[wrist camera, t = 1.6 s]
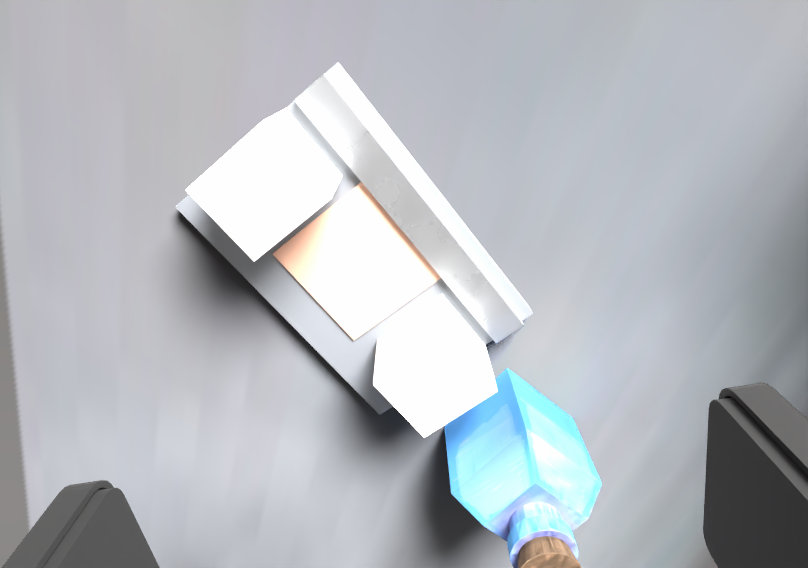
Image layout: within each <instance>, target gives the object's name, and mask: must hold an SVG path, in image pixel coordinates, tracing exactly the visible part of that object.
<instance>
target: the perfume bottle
mask: <svg viewBox="0 0 808 568" xmlns="http://www.w3.org/2000/svg"><path fill="white" fill-rule="evenodd" d="M495 383H496V386H497V390H498V392H496V393H494V394H493V395H491V396H490V397H488V398H487V399H485V400H483V401H482V402H480V403H479V404H477V405H476V406H474V407H472V408H471V409H469V410H468V411H466V412H464V413H463V414H461V415H460V416H458V417H457V418H455V419H453V420H452V421H450V422H449V423H448V424H447V425H446V426H445V436H446V446H447V456H448V466H449V476H450V486H451V494H452V495H453V496H454V497H455V498H456V499H457V500H458V501H459V502H460V503H461V504H462V505H463V506H464V507H465V508H466V509H467V510H468V511H469V512H470V513H471V514H472V515H473V516H474V517H475V518H476V519H477V520H478V521H479V522H480V523H481V524H482V525H483V526H484V527H486V528H487V529H489V530H491V531H492V532H494V533H495V534H497V535H498V536H500V537H501V538H503V539H504V540H506V541H507V546H508V551H509V556H510V561H511V563H512V565H513V567H514V568H581V566H580V564H579V562H578V561H577V558H578V547H577V544H576V541H575V538H574V535H573V533H572V531H573V530H574V529H576V528H577V527H578V526H580V525H581V524H582V523H584V522H585V521H586V520H587V519H588V518H589V515H590V513H591V510H592V508H593V505H594V503H595V500H596V498H597V495H598V493H599V490H600V488H601V485H602V482H601V480H600V478H599V476H598V473H597V471H596V469H595V467H594V464H593V462H592V460H591V458H590V455H589V453H588V451H587V449H586V446H585V444H584V442H583V440H582V438H581V435H580V433H579V431H578V429H577V426H576V424H575V422H574V420H573V418H572V417H571V416H570V415H568V414H567V413H566V412H564V411H563V410H562V409H561V408H559V407H558V406H557V405H555V404H554V403H553V402H551V401H550V400H549V399H547V398H546V397H545V396H544V395H542V394H541V393H540V392H538V391H537V390H536V389H534V388H533V387H532V386H531V385H529V384H528V383H527V382H525V381H524V380H523V379H521V378H520V377H519V376H517V375H516V374H515V373H514V372H512V371H511V370H510V369H508V368H507V369H506V370H504V371H503V372H502V373H501V374H500V375H499V376H498V377H497V378H496V379H495Z"/></svg>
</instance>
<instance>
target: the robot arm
mask: <svg viewBox="0 0 808 568" xmlns="http://www.w3.org/2000/svg"><path fill="white" fill-rule="evenodd" d="M703 531H704V538H705V542H706V545H707V547H708V550H709V552H710V554H711V556H712V558H713V559H714V561H715V563H716V564H717V566H718V568H808V419H806V418H805V417H804V416H803V415H802V414H801V413H800V412H799V411H798V410H797V409H796V408H794V407H793V406H792V405H791V404H790V403H789V402H788V401H787V400H786V399H785V398H783V397H782V396H781V395H780V394H779V393H778V392H777V391H776V390H775V389H774V388H772V387H771V386H769V385H768V384H765V383H758V384H751V385H744V386H738V387H731V388H725V389H723V390H722V391H721V393H720V395H719V399H718V400H713V401H711V403H710V406H709V419H708V440H707V461H706V482H705V504H704V525H703ZM2 568H159V566H158V564H157V562H156V560H155V557H154V555H153V553H152V551H151V549H150V547H149V545H148V543H147V541H146V539H145V537H144V535H143V533H142V531H141V529H140V527H139V525H138V523H137V521H136V519H135V516H134V514H133V512H132V510H131V508H130V506H129V504H128V502H127V500H126V498H125V496H124V494H123V493H122V491H121V490H120V489H118V488H114V487H113V486H112V484H111V483H109V482H108V481H102V480H101V481H94V482H87V483H81V484H74V485H69V486H67V487H65V488H64V489H63V490H62V491H61V492H60V493H59V494H58V495H57V496H56V498H55V499H54V500H53V502H52V503H51V504H50V505H49V507H48V508H47V509H46V511H45V512H44V513H43V515H42V516H41V517H40V519H39V520H38V521H37V522H36V524H35V525H34V526H33V528H32V529H31V530H30V532H29V533H28V534H27V535H26V537H25V538H24V539H23V541H22V542H21V543H20V545H19V546H18V547H17V548H16V550H15V551H14V552H13V554H12V555H11V556H10V558H9V559H8V560H7V562H6V563H5V564H4V565H3V567H2Z"/></svg>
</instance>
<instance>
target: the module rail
mask: <svg viewBox="0 0 808 568" xmlns="http://www.w3.org/2000/svg"><path fill="white" fill-rule="evenodd" d="M186 191H187V192H188V194H189V195H188V196H187V197H185V198H184V199H183V200H182V201H181V202H180V203H179V204H178V205H177V206H175V207H176V208H177V209H178V210H179V211H180V212H181V213H182V215H183V216H184V217H185V218H186V219H187V220H188V221H189V222H190V223H191V224H192V225H193V226H194V227H195V228H196V229H197V230H198V231H199V232H200V233H201V234H202V235H203V236H204V237H205V238H206V239H207V240H208V241H209V242H210V243H211V244H212V245H213V246H214V247H215V248H216V249H217V250H218V251H219V252H220V253H221V254H222V255H223V256H224V257H225V258H226V259H227V260H228V261H229V262H230V263H231V264H232V265H233V266H234V267H235V268H236V269H237V270H238V271H239V272H240V273H241V274H242V276H243V277H244V278H245V279H246V280H247V281H248V282H249V283H250V284H251V285H252V286H253V287H254V288H255V289H256V290H257V291H258V292H259V293H260V294H261V295H262V296H263V297H264V298H265V299H266V300H267V301H268V302H269V303H270V304H271V305H272V306H273V307H274V308H275V309H276V310H277V311H278V312H279V313H280V314H281V315H282V316H283V317H284V318H285V319H286V320H287V321H288V322H289V323H290V324H291V325H292V326H293V327H294V328H295V329H296V330H297V331H298V332H299V333H300V334H301V335H302V337H303V338H304V339H305V340H306V341H307V342H308V343H309V344H310V345H311V346H312V347H313V348H314V349H315V350H316V351H317V352H318V353H319V354H320V355H321V356H322V357H323V358H324V359H325V360H326V361H327V362H328V363H329V364H330V365H331V366H332V367H333V368H334V369H335V370H336V371H337V372H338V373H339V374H340V375H341V376H342V377H343V378H344V379H345V380H346V381H347V382H348V383H349V384H350V385H351V386H352V387H353V388H354V389H355V390H356V391H357V392H358V393H359V394H360V395H361V397H362V398H363V399H364V400H365V401H366V402H367V403H368V404H369V405H370V406H371V407H372V408H373V409H374V410H375V411H376V412H377V413H378V414H379V415H381V414H382V413H384V412H385V411H387V410H388V409H390V408H391V407H393V406H394V407H395V408H396V409H397V410H398V411H399V412H400V413H401V414H402V415H403V416H404V418H405V419H406V420H407V421H408V422H409V423H410V424H411V425H412V426H413V427H414V428H415V429H416V430H417V431H418V432H419V433H420V434H421V435H422V436H423V437H424V438H425V437H427V436H428V435H430V434H431V433H433V432H434V431H436V430H438V429H439V428H441V427H442V426H444V425H446V424H447V423H449V422H450V421H452V420H453V419H455V418H457V417H458V416H460V415H461V414H463V413H464V412H466V411H468V410H469V409H471V408H472V407H474V406H476V405H477V404H479V403H480V402H482V401H483V400H485V399H487V398H488V397H490V396H491V395H493V394H494V393H496V392H498V390H497V386H496V383H495V379H494V375H493V371H492V367H491V364H490V360H489V356H488V352H487V349H486V344H488V343H489V342H491V341H493V340H494V342H495V343H496V344H497V343H498V342H500V341H501V340H503V339H504V338H506V337H507V336H509V335H510V334H512V333H513V332H515V331H516V330H518V329H519V328H521V327H522V326H524V325H523V322H522V321H523V320H524V319H526V318H527V317H529V316H530V315H532V314H533V313H532V311H531V308H530V306H529V305H528V304H527V303H526V301H525V300H524V299H523V297H522V296H521V295H520V294H519V292H518V291H517V290H516V288H515V287H514V286H513V285H512V283H511V282H510V281H509V280H508V278H507V277H506V276H505V274H504V273H503V272H502V271H501V269H500V268H499V267H498V265H497V264H496V263H495V262H494V260H493V259H492V258H491V257H490V255H489V254H488V253H487V251H486V250H485V249H484V248H483V246H482V245H481V244H480V242H479V241H478V240H477V239H476V237H475V236H474V235H473V233H472V232H471V231H470V230H469V228H468V227H467V226H466V225H465V223H464V222H463V221H462V219H461V218H460V217H459V216H458V214H457V213H456V212H455V210H454V209H453V208H452V207H451V205H450V204H449V203H448V201H447V200H446V199H445V198H444V196H443V195H442V194H441V193H440V191H439V190H438V189H437V187H436V186H435V185H434V184H433V182H432V181H431V180H430V178H429V177H428V176H427V175H426V173H425V172H424V171H423V169H422V168H421V167H420V166H419V164H418V163H417V162H416V161H415V159H414V158H413V157H412V155H411V154H410V153H409V152H408V150H407V149H406V148H405V146H404V145H403V144H402V143H401V141H400V140H399V139H398V137H397V136H396V135H395V134H394V132H393V131H392V130H391V129H390V127H389V126H388V125H387V123H386V122H385V121H384V120H383V118H382V117H381V116H380V114H379V113H378V112H377V111H376V109H375V108H374V107H373V106H372V104H371V103H370V102H369V100H368V99H367V98H366V97H365V95H364V94H363V93H362V91H361V90H360V89H359V88H358V86H357V85H356V84H355V82H354V81H353V80H352V79H351V77H350V76H349V75H348V74H347V72H346V71H345V70H344V68H343V67H342V66H341V65H340V63H339V62H338V63H336V64H335V65H334V66H333V67H332V68H330V69H329V70H328V71H327V72H326V73H325V74H323V75H322V76H320V77H319V78H318V79H317V80H316V81H315V82H314V83H313V84H311V85H310V86H309V87H308V88H307V89H306V90H305V91H304V92H302V93H301V94H300V95H299V96H298V97H297V98H296V99H295V100H294V101H293V102H292V103H291V104H290V105H289V106H288V107H287V108H285V109H283V110H281V111H279V112H278V113H276V114H274V115H272V116H270V117H268V118H266V119H264V120H263V121H262V122H260V123H259V124H258V125H257V126H256V127H255V128H254V129H253V130H252V131H250V132H249V133H248V134H247V135H246V136H245V137H244V138H243V139H241V140H240V141H239V142H238V143H237V144H236V145H235V146H234V147H233V148H231V149H230V150H229V151H228V152H227V153H226V154H225V155H224V156H222V157H221V158H220V159H219V160H218V161H217V162H216V163H215V164H214V165H212V166H211V167H210V168H209V169H208V170H207V171H206V172H205V173H203V174H202V175H201V176H200V177H199V178H198V179H197V180H196V181H195V182H193V183H192V184H191V185H190V186H189V187H188V188H187V189H186Z"/></svg>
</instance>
